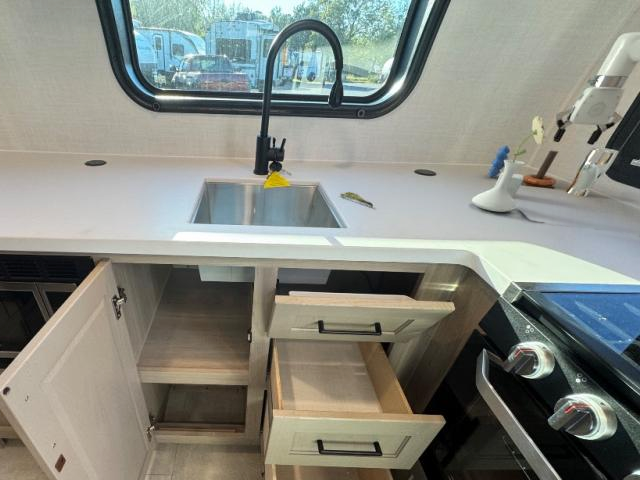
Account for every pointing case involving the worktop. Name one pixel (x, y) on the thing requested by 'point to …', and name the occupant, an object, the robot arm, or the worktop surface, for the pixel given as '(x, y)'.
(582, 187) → the beer glass
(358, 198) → the green bird figurine
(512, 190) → the product carton
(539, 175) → the stand
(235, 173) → the worktop surface
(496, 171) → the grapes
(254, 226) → the worktop surface
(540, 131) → the flower in vase
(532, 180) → the ring
